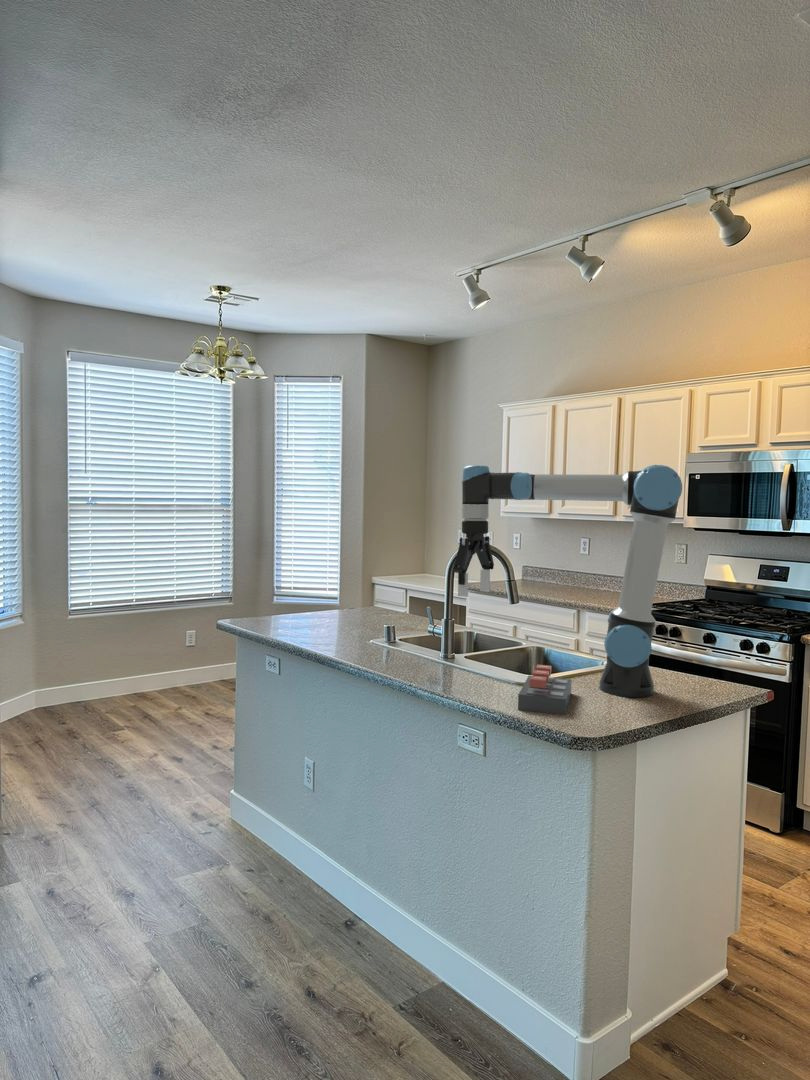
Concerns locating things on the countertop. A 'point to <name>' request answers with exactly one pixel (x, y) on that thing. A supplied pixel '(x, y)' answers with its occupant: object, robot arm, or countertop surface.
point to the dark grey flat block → (546, 696)
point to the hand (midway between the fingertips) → (474, 593)
